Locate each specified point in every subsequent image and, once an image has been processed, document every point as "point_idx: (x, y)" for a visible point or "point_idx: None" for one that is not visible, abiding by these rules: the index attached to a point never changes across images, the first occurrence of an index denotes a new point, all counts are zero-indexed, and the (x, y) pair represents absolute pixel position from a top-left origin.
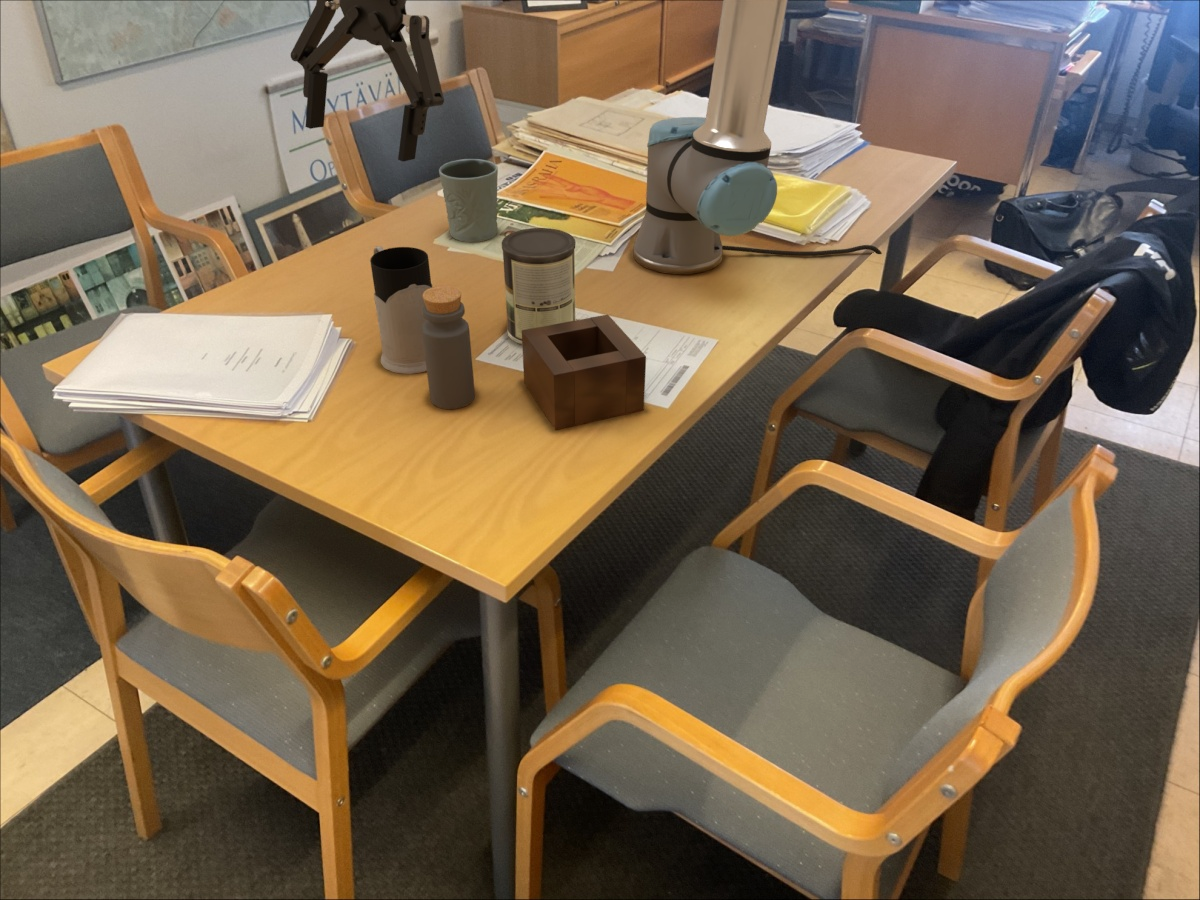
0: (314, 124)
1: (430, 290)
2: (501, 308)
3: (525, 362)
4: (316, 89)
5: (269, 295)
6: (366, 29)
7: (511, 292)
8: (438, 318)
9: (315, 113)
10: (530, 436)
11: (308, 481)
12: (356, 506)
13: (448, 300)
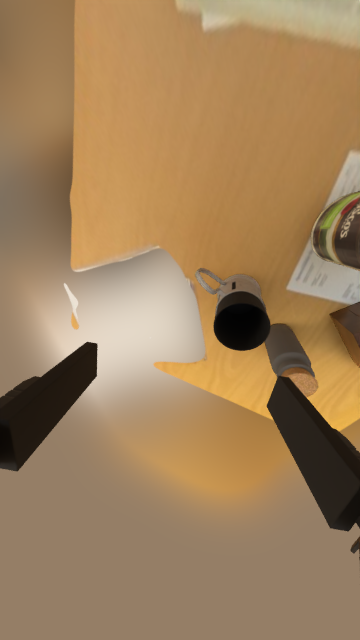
0: (93, 370)
1: None
2: (300, 190)
3: (341, 327)
4: (49, 422)
5: (103, 228)
6: None
7: (341, 262)
8: None
9: (82, 381)
10: (334, 366)
11: (224, 395)
12: (250, 407)
13: (307, 395)
